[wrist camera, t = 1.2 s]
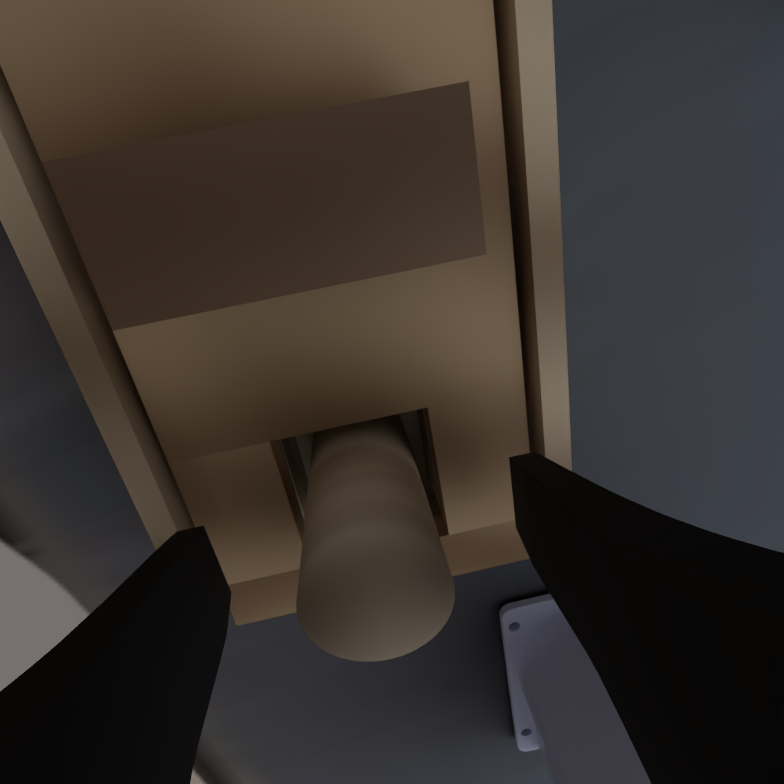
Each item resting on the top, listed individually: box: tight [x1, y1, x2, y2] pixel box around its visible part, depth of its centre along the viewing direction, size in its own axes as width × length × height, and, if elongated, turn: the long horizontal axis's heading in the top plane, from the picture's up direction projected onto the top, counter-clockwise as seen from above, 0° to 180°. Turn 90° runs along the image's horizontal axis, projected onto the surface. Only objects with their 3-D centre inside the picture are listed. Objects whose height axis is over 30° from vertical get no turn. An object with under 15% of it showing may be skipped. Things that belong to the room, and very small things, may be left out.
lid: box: [0, 0, 530, 626], centre depth 10 cm, size 16×9×4 cm, turn 11°
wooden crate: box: [0, 0, 572, 621], centre depth 12 cm, size 16×11×4 cm
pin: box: [296, 414, 455, 662], centre depth 12 cm, size 3×3×7 cm
